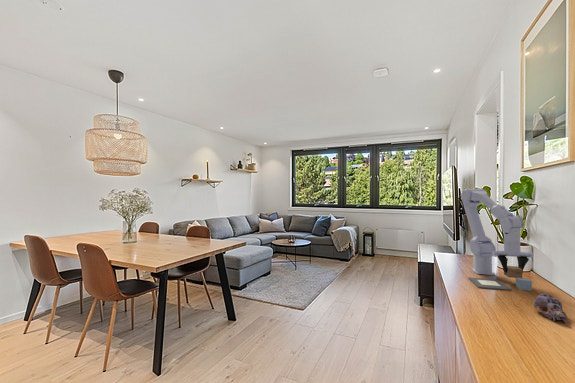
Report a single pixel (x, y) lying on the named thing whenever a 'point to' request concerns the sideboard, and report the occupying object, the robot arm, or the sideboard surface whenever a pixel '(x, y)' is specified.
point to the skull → (550, 307)
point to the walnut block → (513, 272)
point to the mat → (489, 284)
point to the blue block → (523, 284)
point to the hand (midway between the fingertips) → (512, 272)
